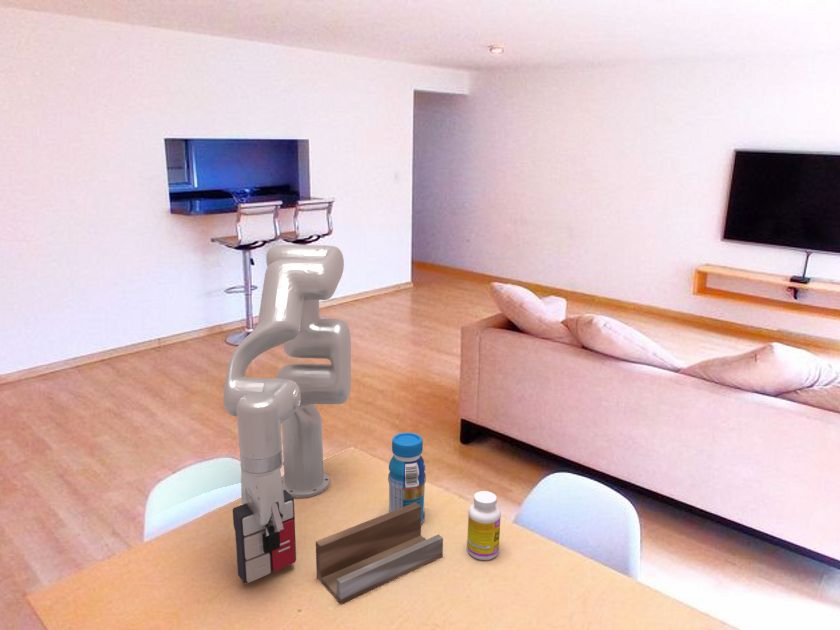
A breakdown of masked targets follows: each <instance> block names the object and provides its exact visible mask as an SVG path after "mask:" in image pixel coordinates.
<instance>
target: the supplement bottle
mask: <svg viewBox="0 0 840 630" xmlns="http://www.w3.org/2000/svg"><path fill="white" fill-rule="evenodd" d="M497 501H498V500H497V495H496V494H495V493H494V492H491V491H487V490H481V491H477V492H475V493H474V496H473V503H472V505H470V506H469V508H468V514H467V515H468V517H467V519H468V520H467V540H466V551H467V553H468V554H469V555H470V556H471V557H472V558H474V559H476V560H479V561H489V560H492V559H495V558H496V557H497V556H498V554H499V550H500V531H501V510H500V508H499V507H498V505H497V504H498V503H497Z"/></svg>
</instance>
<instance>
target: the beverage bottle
mask: <svg viewBox="0 0 840 630" xmlns="http://www.w3.org/2000/svg"><path fill="white" fill-rule="evenodd" d="M423 441H424V440H423V438H422V436H421V435H420V434H417V433H415V432H401V433H397V434H396V435H394V436H393V438H392V440H391V450H392V451H391V452H392V454H393V455H392V457H391V458H390V461H389V464H388V471H389V472H388V476H387V481H388V483H389V484H388V486H389V487H388V489H389V490H388V491H389V492H388V500H389V501H388V503H389V504H388V507H389V509H388V513H389V512H392V511H394V510H397V509H400V508H402V507H405V506H407V505H410V504H412V503H415V502H416V503H417V504H419V505H420V506H421V524H422V523H423V522H424V521H425V517H426V515H425V513H426V512H425V489H426V486H425V485H426V482H427V475H426V472H425V471H426V467H427V466H426V462H425V459H424V458H423V456H422V453H423V451H424V450H423V448H424V447H423V445H424V444H423V443H424V442H423Z"/></svg>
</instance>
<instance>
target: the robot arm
mask: <svg viewBox="0 0 840 630" xmlns="http://www.w3.org/2000/svg"><path fill="white" fill-rule="evenodd" d="M265 259H266V266H267V268H266V269H265V273H264V279H263V285H262V292H261V300H260V306H259V313H258V319H257V320H258V321H257V325H256V327H255V329H254V330H252V331H251V332H250V333H248V335H247V336H246V337H245V338H243V339H242V341H241V342H239V345H238V346H237V347H236V348H235V350H233V351H234V352H233V353H232V354H231V356H230V359H229V361H228V364H227V368H226V374H225V379H224V380H225V381H224V387H223V394H222V395H223V397H222V398H223V399H222V400H223V408H224V410H225V411H226V412H227V414H228V415H231V416H232V417H236V419H237V432H238V445H239V458H240V459H239V460H240V470H241V471H240V483H241V485H240V487H241V489H240V491H241V495H240V496H241V505H243V504H247V506H248V507H249V508H250V509H251V511H252V512H253V515H254V520H255V521H256V522H257V523H258V524H259V525H261V526H263V528H264V534H262V538H263V551H264V553H269V552H271V551H274V550H276V549H279V548H280V533H279V532H280V530H283V524H282V520H281V519H283V517H284V514H285V504H284V493H283V490H286V491H287V492H288V493H289V494H290V495H291V496H292V497H293V498H309V497H314V496H317V495H320V494H322V493H323V492H325V491H326V490H327V489H328V488H329V487H330V483H331V482H330V481H331V479H330V476H329V474H327V472H325V471H324V454H323V453H324V449H323V445H324V444H323V420H322V416H321V413H320V412H319V409H318V408H317V407H316V406H315V405H342V404H345V403H346V402H347V401H348V400H349V398H350V395H351V385H352V384H351V382H352V375H351V374H352V341H351V340H352V339H351V338H352V337H351V332H350V331H351V330H350V327H349V324H347V322H346V321H344V320H343V319H338V318H321V317H320V301H326V300H329V299H331V298H332V297H333V295H334V294H335V292H336V290H337V288H338V285H339V283H340V281H341V279H342V277H343V272H344V268H345V263H344V261H345V260H344V255H343V253H342V251H341V250H340V248H339V247H338V246H334V245H322V244H319V245H318V244H316V245H314V244H281V245H275V246H271V247H270V248H269V249H268V250H267V252H266V255H265ZM280 345H283V347H282V348H283V351H284V353H285V354H286V355H287V356H289V357H291V358H295V359H314V360H315V359H317V360H318V359H320V360H323V359H324V360H326V359H327V360H328V361H330V363H331V364H329V363H328V364H327V363H326V364H325V363H324V364H323V363H301V362H299V363H290V364H286V365H284V366H282V367H281V368H280V369H279V370H278V372H277V374H276V378H268V377H265V378H264V377H263V378H262V377H245V374H246V372H247V370H248V367H249V365H250V364H251V363H252V362H253V361H254V360H255V359H256V358H257V357H259V356H260V355H262V354H264V353H265V352H267V351H269V350H271V349H274V348H276V347H279V346H280ZM281 430H282V431H281ZM282 467H283V473H284V474H283V475H282V472H281V468H282ZM270 522H273V525H272V526H270V527H269V528H268V523H270Z"/></svg>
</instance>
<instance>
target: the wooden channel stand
mask: <svg viewBox="0 0 840 630" xmlns="http://www.w3.org/2000/svg"><path fill="white" fill-rule="evenodd" d="M443 551H444V537H443V536H441V535H440V534H436V535H434V536H432V537H430V538H427V539H426V537H424V536H422V523H421V506H420V505H419V504H417V503H416V502H415V503H412V504H410V505H407V506H405V507H402V508H400V509H397V510H394V511H392V512H389V511H388V512H386V513H384V514H382V515H379V516H377V517H374V518H372V519H369V520H367V521H363V522H361V523H359V524H357V525H353V526H351V527H349V528H346V529H343V530H341V531H338V532H336V533H333V534H331V535H328V536H325V537H322V538H320V539H318V540H316V541H315V562H316V563H315V567H316V569H315V570H316V578H317V579H318V580H319V581H320V582H321V584H322V585H323V586H324V587H325V588H326V589H327V590H328V591H329V593H330V594H331V595H332V596H333V597H334V599H336V600H337V601H338V603H339V604H340V605H343V604H345V603H348V602H349V601H351V600H354V599H355V598H358V597H360V596H362V595H364V594H366V593H368V592H369V593H370V592H371V591H373V590H374V589H375V590H376V588H377V589H378V588H379V587H381V586H383V585H386V584H388V583H390V582H392V581H394V580H397V579H398V578H400V577H401V578H402V576H405V575H407V574H409V573H411V572H414V571H416V570H417V569H420V568H423V567H424V566H426V565H429V564H431V563H433V562H435V561H437V560H439V559H441V558H443V553H444V552H443Z"/></svg>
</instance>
